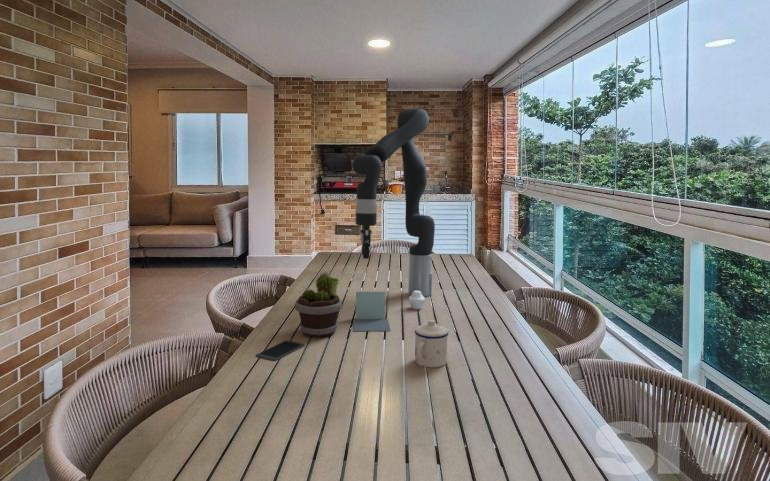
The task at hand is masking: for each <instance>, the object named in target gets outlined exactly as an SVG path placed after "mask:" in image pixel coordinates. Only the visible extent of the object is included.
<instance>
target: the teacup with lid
mask: <svg viewBox="0 0 770 481" xmlns="http://www.w3.org/2000/svg"><path fill="white" fill-rule="evenodd" d="M427 321H428V322H426V323H425V324H421V325H418V326H417V327H416V328H415V330H414V333H415V339H414V340H415V343H414V344H415V346H414V347H415V348H414V349H415V350H414V353H415V354H414V361H415V363H416V364H417V365H419V366H421V367H425V368H440V367H443V366H444V365H446V364H447V359H448V358H447V357H448V336H449V330H448V328H446V327H445V326H442V325H440V324H438V323H436V322H437V321H436V320H434V319H429V320H427Z"/></svg>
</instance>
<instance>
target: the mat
mask: <svg viewBox="0 0 770 481" xmlns="http://www.w3.org/2000/svg"><path fill="white" fill-rule="evenodd" d="M352 324H353V332H357V333H358V332H391V331H392V330H391V326H390V323H389V319H388V318H385V319H356V318H355V319H353V320H352Z"/></svg>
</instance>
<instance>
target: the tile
mask: <svg viewBox="0 0 770 481" xmlns="http://www.w3.org/2000/svg"><path fill="white" fill-rule="evenodd" d="M385 315H386V290H385V289H380V290H379V289H368V290H367V289H366V290H365V289H364V290H360V289H355V319H386V317H385Z"/></svg>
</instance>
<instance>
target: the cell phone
mask: <svg viewBox="0 0 770 481" xmlns="http://www.w3.org/2000/svg"><path fill="white" fill-rule="evenodd" d="M303 347H305V344H304V343H301V342H296V341H291V340H283V341H281V342H279V343H277V344H275V345H273V346H271V347H269V348H267V349H265V350H263V351H260V352H259V353H257V354H255V357H256V358H259V359H263V360H267V361H272V362H276V361H279V360H281V359H283V358H284V357H286V356H289V355H291V354H292V353H294V352H296V351H297V350H299V349H301V348H303Z"/></svg>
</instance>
